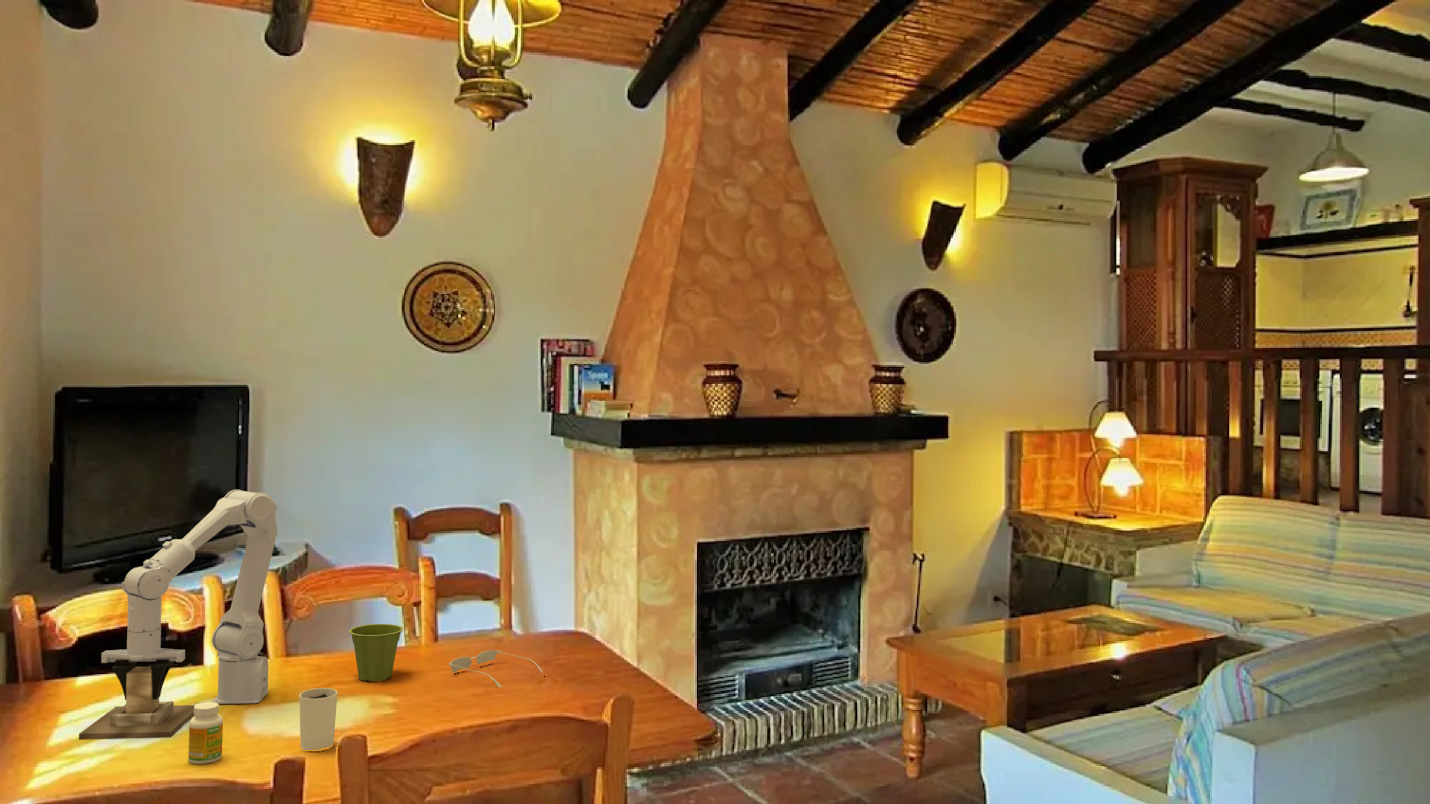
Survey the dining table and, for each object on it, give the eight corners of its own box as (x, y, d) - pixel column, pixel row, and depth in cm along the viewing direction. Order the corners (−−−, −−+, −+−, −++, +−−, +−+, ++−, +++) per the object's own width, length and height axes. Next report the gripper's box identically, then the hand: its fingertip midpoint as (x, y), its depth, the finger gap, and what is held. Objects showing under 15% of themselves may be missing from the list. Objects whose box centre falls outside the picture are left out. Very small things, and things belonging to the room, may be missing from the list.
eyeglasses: (497, 664, 248) (497, 648, 248) (549, 678, 238) (549, 661, 238) (447, 677, 236) (447, 660, 236) (500, 693, 225) (500, 675, 225)
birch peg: (158, 706, 200) (159, 666, 200) (150, 714, 196) (151, 673, 196) (135, 707, 200) (136, 667, 199) (125, 714, 195) (126, 673, 195)
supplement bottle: (208, 766, 178) (209, 711, 177) (181, 763, 179) (182, 708, 179) (228, 755, 183) (229, 702, 183) (202, 752, 184) (203, 699, 184)
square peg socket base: (200, 709, 207) (200, 695, 207) (170, 737, 191) (170, 721, 191) (115, 711, 204) (116, 696, 204) (78, 739, 189) (79, 723, 189)
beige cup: (304, 740, 192) (305, 687, 191) (340, 740, 192) (341, 688, 192) (292, 753, 185) (294, 698, 185) (330, 753, 186) (331, 699, 185)
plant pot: (413, 676, 234) (414, 628, 234) (370, 688, 224) (372, 638, 224) (379, 667, 241) (380, 620, 240) (336, 679, 231) (337, 630, 230)
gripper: (94, 634, 192) (93, 705, 193) (176, 633, 195) (174, 704, 195) (111, 625, 199) (109, 694, 200) (189, 625, 202) (187, 692, 202)
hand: (142, 698), depth 198 cm, fingers closed on birch peg, 4 cm apart
